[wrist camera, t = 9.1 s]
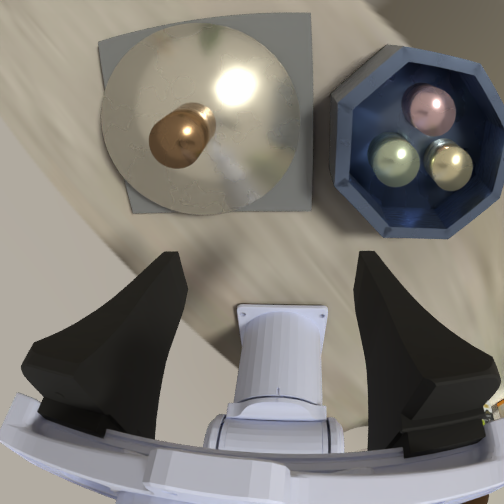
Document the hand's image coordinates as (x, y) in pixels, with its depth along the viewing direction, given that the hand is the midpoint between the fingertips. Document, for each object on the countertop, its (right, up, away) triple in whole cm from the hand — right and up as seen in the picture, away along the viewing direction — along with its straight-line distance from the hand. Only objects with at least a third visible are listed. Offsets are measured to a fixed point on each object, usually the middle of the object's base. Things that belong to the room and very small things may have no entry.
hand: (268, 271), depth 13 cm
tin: (+10, +8, +5) cm, 14 cm away
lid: (-4, +9, +5) cm, 11 cm away
